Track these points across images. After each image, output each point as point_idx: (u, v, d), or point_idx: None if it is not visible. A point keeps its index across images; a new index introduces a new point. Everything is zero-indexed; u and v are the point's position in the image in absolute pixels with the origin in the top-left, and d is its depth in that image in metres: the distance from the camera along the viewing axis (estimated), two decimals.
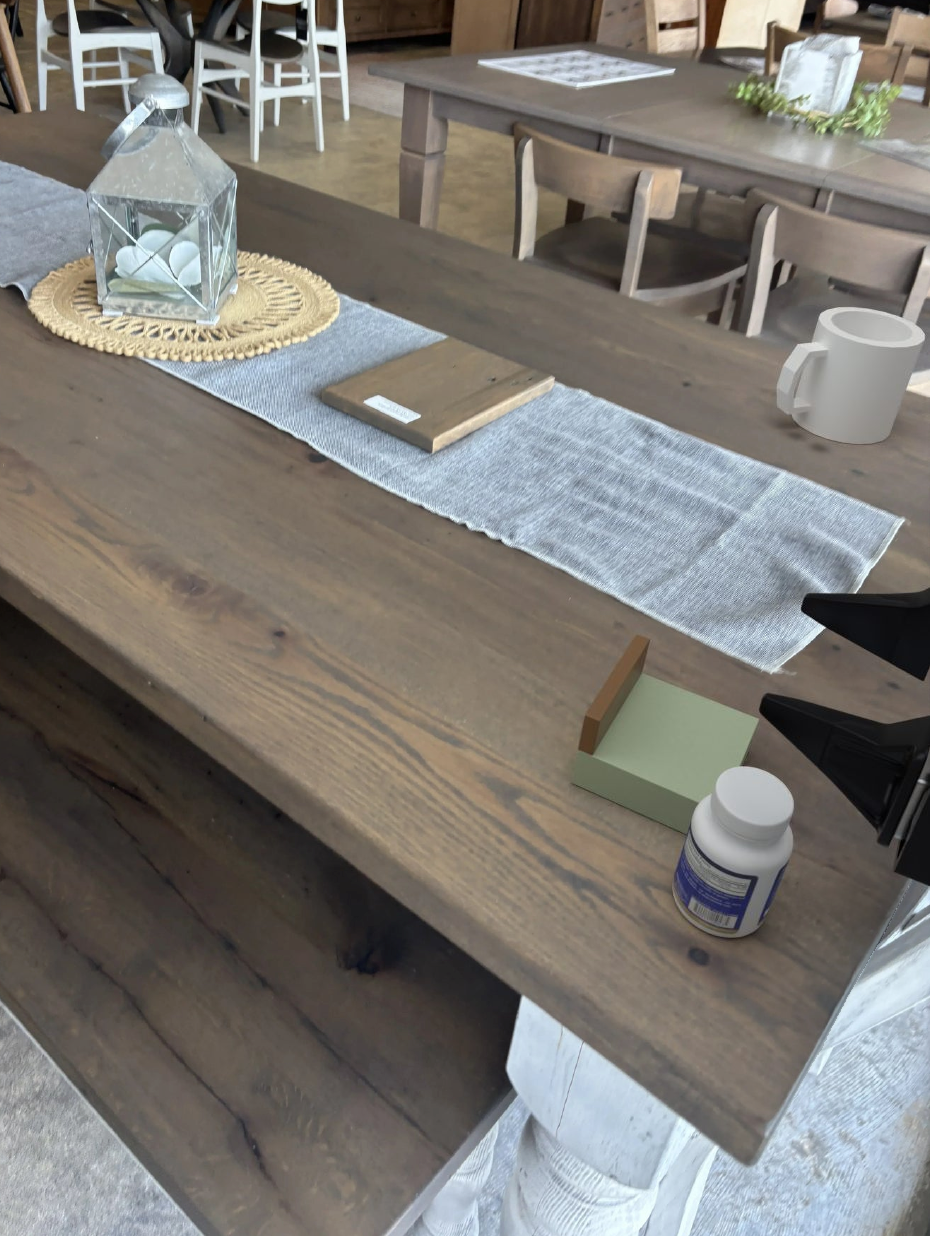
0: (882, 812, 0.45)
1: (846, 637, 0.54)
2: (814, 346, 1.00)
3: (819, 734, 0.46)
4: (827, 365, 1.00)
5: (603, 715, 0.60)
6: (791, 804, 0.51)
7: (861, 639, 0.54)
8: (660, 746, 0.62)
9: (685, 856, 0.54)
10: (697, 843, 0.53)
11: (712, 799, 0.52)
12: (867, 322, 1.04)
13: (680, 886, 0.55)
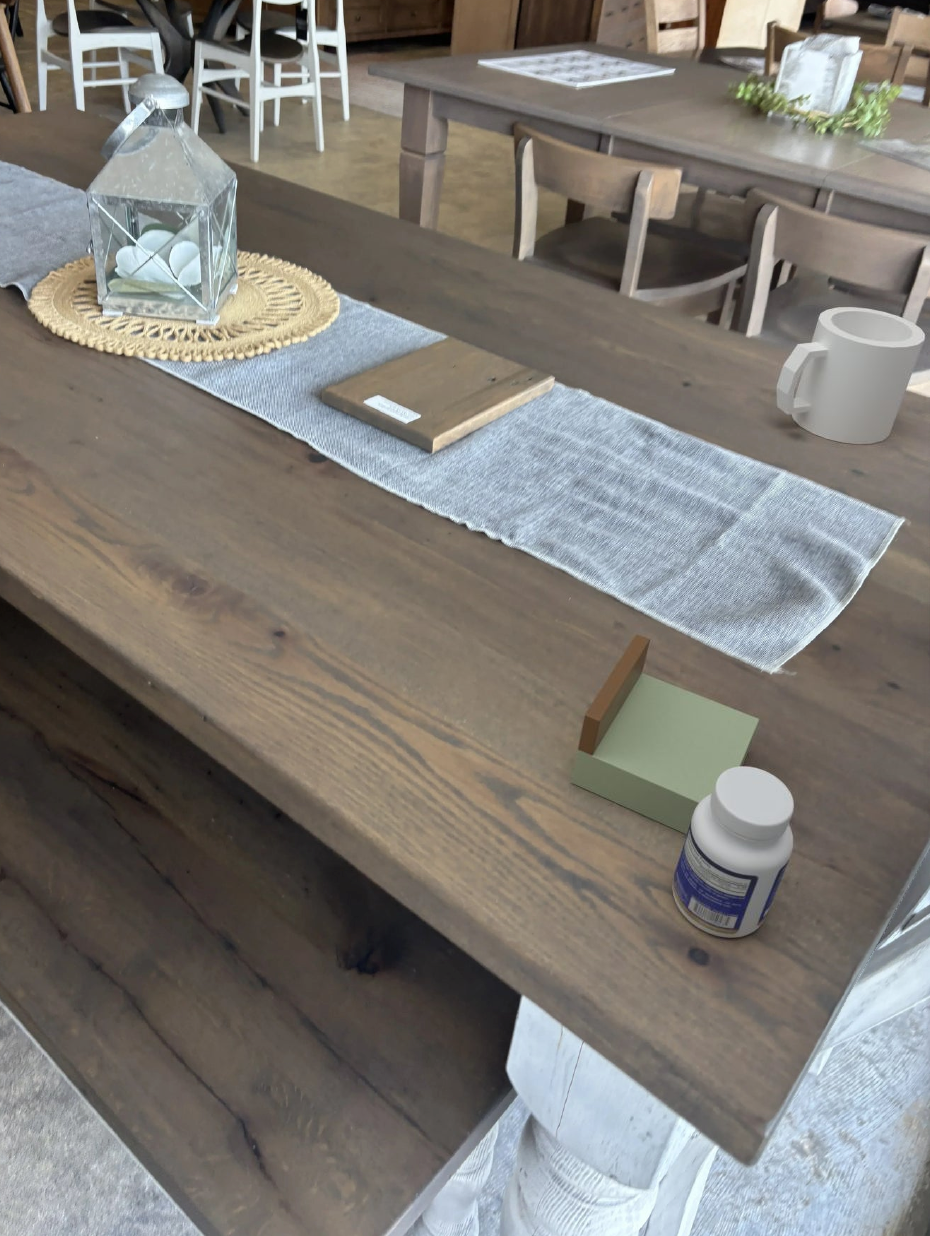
0: None
1: None
2: (814, 346, 1.00)
3: None
4: (827, 365, 1.00)
5: (603, 715, 0.60)
6: (791, 804, 0.51)
7: None
8: (660, 746, 0.62)
9: (685, 856, 0.54)
10: (697, 843, 0.53)
11: (712, 799, 0.52)
12: (867, 322, 1.04)
13: (680, 886, 0.55)
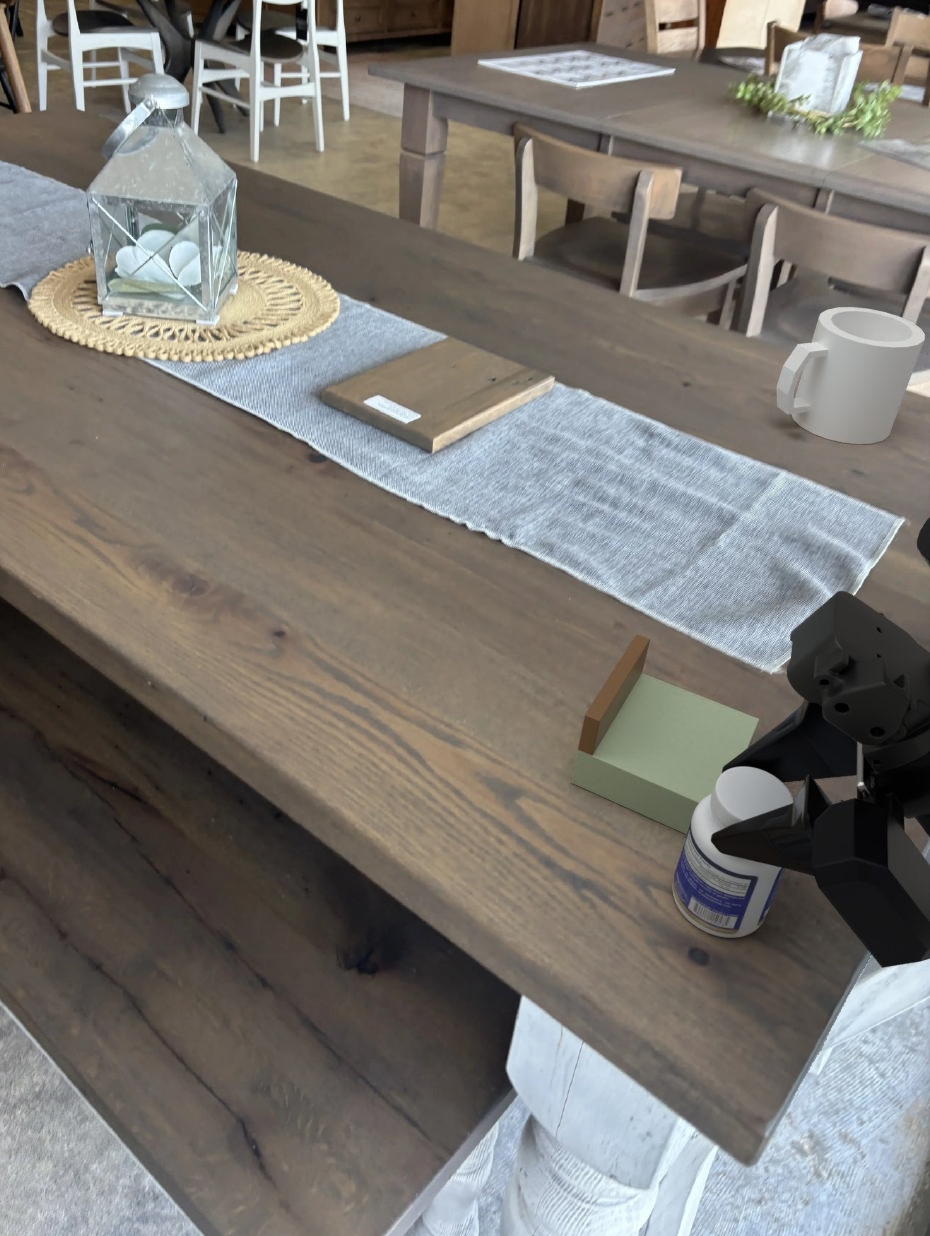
0: None
1: (783, 781, 0.53)
2: (814, 346, 1.00)
3: (761, 843, 0.48)
4: (827, 365, 1.00)
5: (603, 715, 0.60)
6: None
7: (794, 775, 0.53)
8: (660, 746, 0.62)
9: (685, 856, 0.54)
10: (697, 844, 0.53)
11: (712, 799, 0.52)
12: (867, 322, 1.04)
13: (680, 886, 0.55)
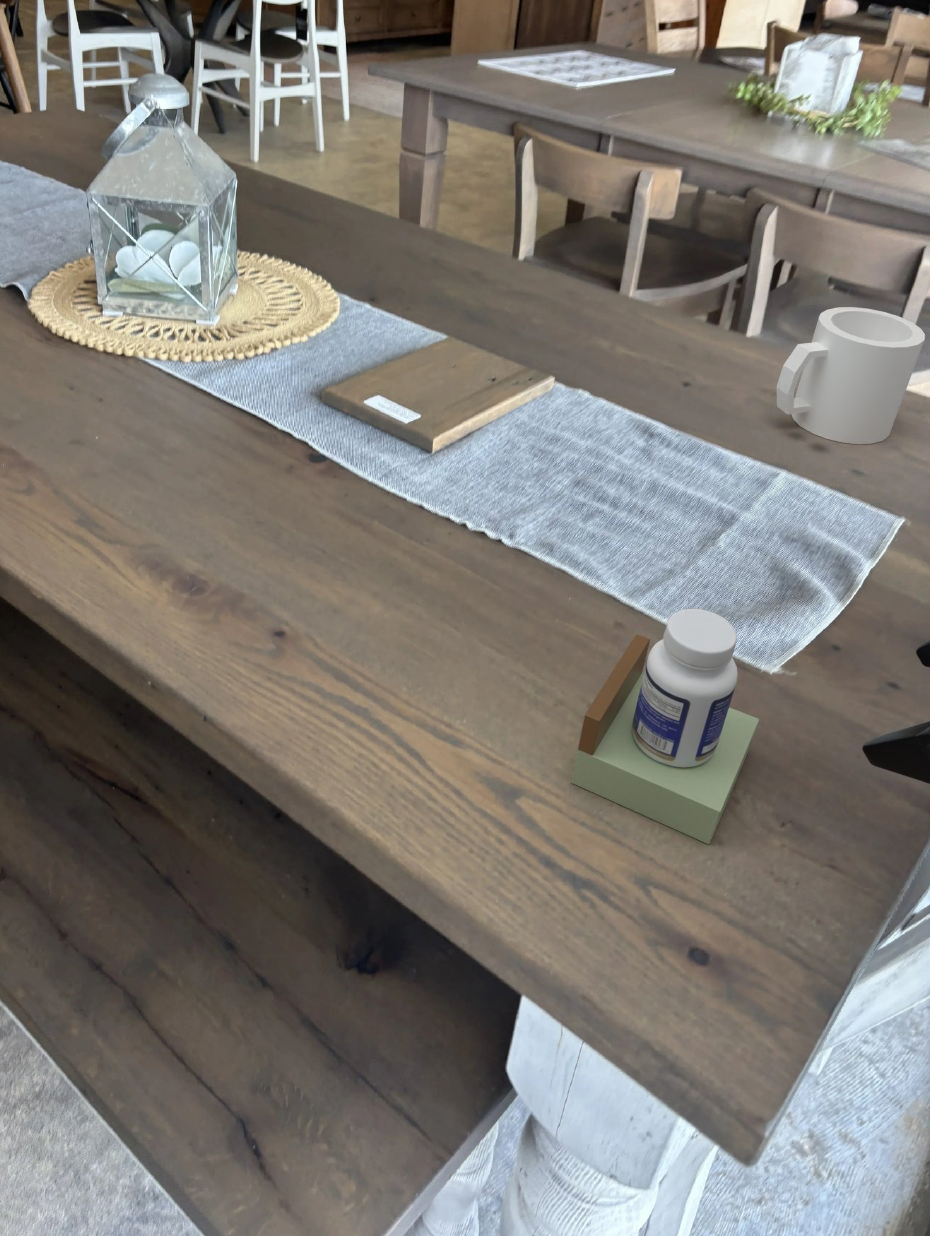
0: None
1: None
2: (814, 346, 1.00)
3: (916, 754, 0.45)
4: (827, 365, 1.00)
5: (603, 715, 0.60)
6: (732, 643, 0.56)
7: None
8: None
9: None
10: (647, 667, 0.59)
11: (665, 629, 0.58)
12: (867, 322, 1.04)
13: (635, 713, 0.62)
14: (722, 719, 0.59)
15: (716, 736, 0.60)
